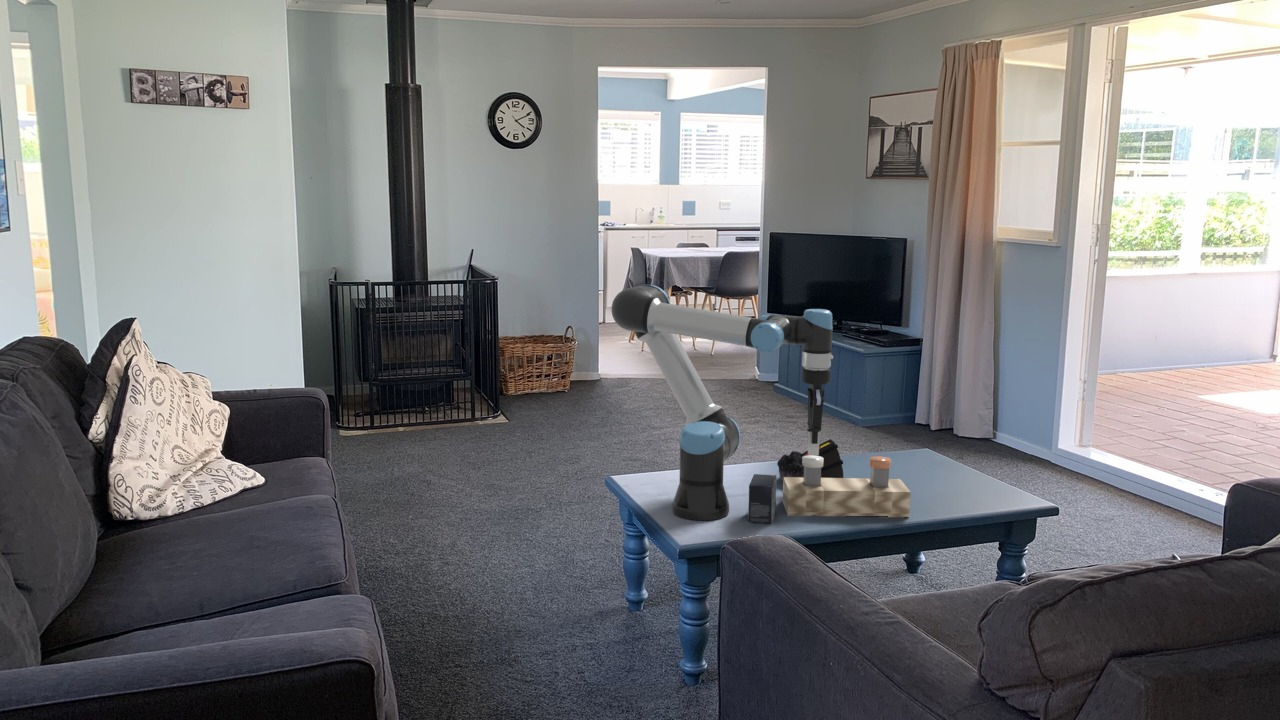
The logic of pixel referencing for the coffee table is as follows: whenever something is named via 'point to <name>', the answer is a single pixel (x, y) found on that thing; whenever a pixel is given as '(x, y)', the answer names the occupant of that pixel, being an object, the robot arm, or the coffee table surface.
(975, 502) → the coffee table surface
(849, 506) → the block
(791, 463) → the black rock
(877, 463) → the terracotta plunger
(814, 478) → the pale plunger
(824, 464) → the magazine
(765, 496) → the small box
